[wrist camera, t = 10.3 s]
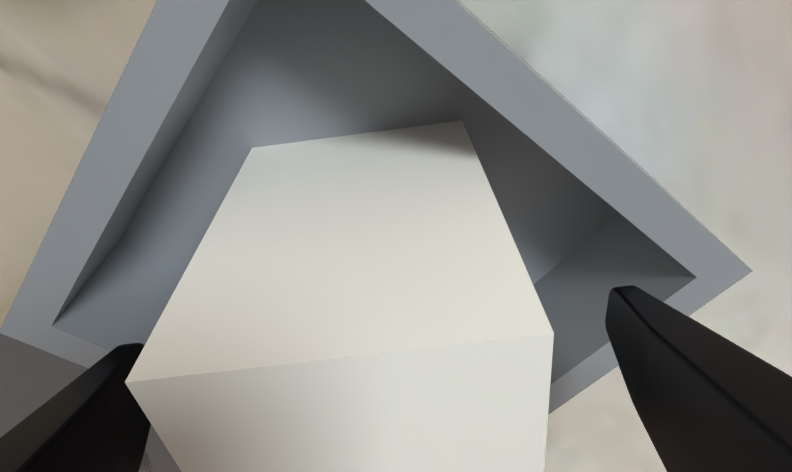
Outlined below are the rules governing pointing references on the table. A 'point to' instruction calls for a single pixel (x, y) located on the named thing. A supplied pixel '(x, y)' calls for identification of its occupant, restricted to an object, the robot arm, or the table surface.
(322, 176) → the cream rectangular block
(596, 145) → the bin
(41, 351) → the stud plate
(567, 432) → the table surface
